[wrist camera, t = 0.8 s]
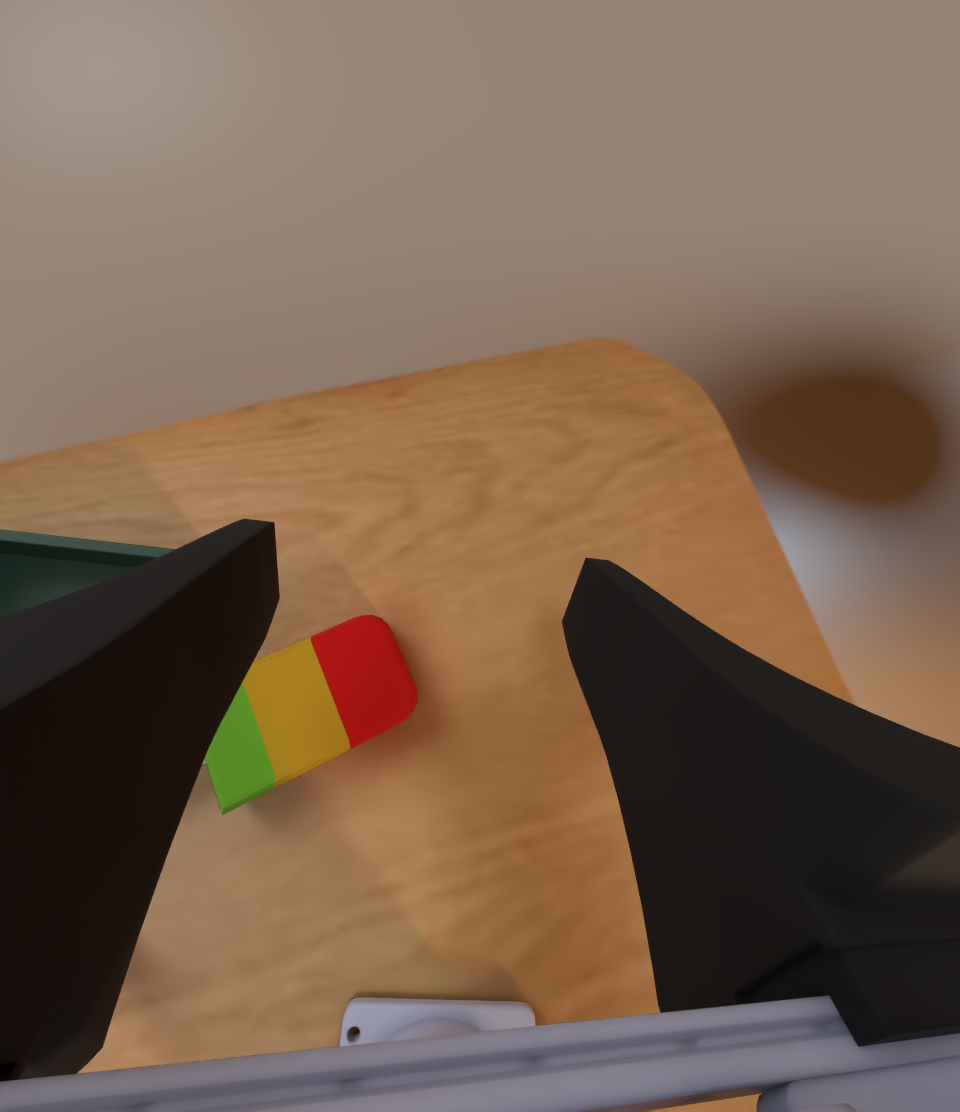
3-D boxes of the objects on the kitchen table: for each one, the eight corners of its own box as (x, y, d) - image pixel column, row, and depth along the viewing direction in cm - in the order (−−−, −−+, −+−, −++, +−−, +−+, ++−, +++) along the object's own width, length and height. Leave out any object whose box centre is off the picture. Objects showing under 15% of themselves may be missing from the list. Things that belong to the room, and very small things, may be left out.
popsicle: (426, 708, 21) (426, 711, 19) (96, 877, 18) (59, 900, 16) (383, 610, 22) (380, 603, 20) (65, 750, 19) (27, 757, 17)
